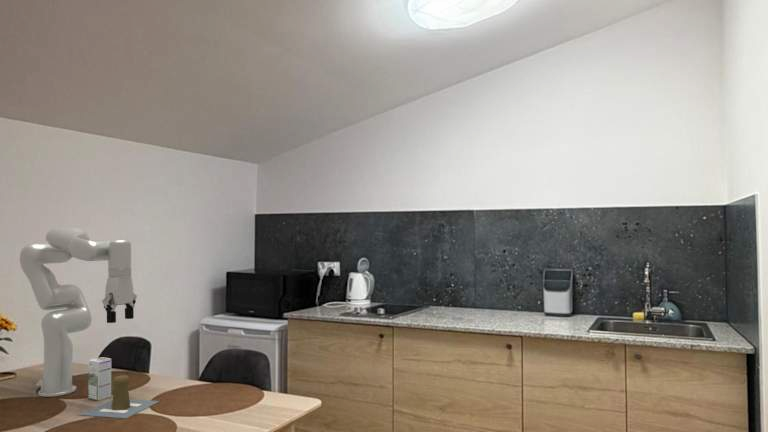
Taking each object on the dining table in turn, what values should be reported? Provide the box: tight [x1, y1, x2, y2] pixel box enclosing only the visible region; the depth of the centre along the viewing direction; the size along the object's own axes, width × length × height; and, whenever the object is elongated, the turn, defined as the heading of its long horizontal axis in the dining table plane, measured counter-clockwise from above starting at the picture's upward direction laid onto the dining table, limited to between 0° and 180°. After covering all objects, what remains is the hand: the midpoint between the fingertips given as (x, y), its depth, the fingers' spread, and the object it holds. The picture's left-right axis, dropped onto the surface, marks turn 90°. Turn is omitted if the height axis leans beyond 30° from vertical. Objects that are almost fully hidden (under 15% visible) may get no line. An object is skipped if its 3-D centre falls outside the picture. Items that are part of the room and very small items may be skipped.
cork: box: [111, 374, 131, 410], centre depth 182 cm, size 6×6×11 cm
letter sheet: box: [78, 398, 160, 420], centre depth 182 cm, size 18×18×1 cm
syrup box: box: [87, 356, 112, 401], centre depth 194 cm, size 6×6×14 cm
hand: (120, 320), depth 189 cm, fingers open, 9 cm apart
